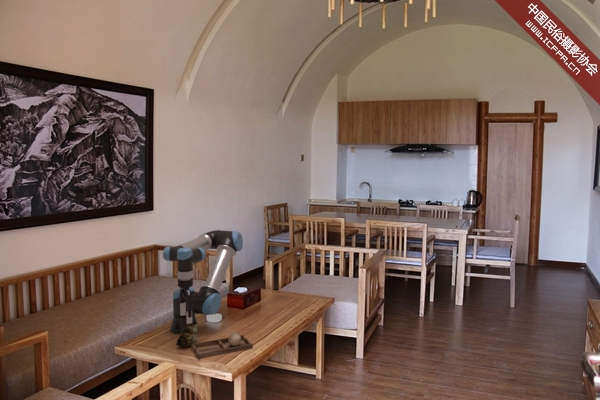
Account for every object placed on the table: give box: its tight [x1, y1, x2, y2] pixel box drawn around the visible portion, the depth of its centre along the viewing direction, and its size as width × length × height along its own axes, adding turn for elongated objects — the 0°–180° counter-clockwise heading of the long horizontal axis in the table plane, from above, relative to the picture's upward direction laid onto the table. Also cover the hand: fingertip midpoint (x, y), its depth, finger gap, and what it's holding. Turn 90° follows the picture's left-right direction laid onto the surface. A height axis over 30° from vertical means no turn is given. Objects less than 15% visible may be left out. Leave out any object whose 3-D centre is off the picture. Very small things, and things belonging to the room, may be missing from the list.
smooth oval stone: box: [227, 332, 241, 346], centre depth 249 cm, size 7×7×7 cm
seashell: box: [176, 324, 198, 347], centre depth 253 cm, size 11×11×10 cm
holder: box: [191, 334, 254, 361], centre depth 247 cm, size 14×27×3 cm, turn 117°
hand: (186, 319), depth 251 cm, fingers open, 13 cm apart
